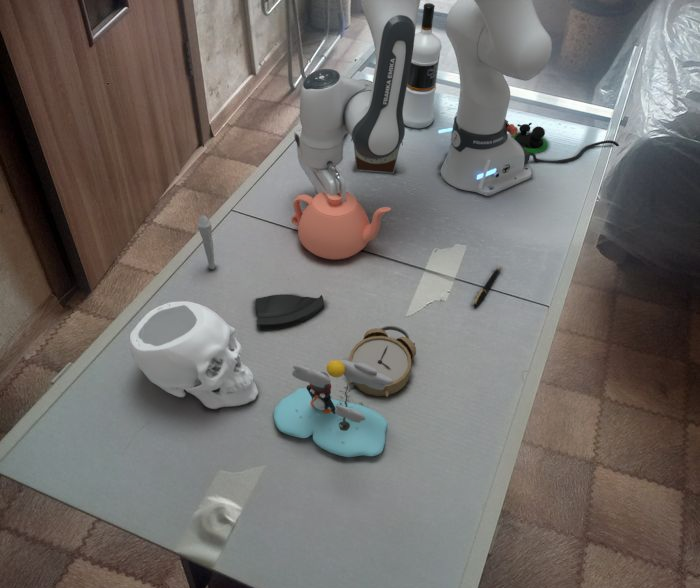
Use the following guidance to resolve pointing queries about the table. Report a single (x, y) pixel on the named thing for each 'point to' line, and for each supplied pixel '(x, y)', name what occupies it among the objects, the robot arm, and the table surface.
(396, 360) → the alarm clock
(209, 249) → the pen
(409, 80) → the vodka
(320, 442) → the penguin figurine
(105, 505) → the table surface
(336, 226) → the teapot
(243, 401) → the skull planter
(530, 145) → the toy figurine
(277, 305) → the dark sector wedge
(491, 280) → the fountain pen
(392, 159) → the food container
